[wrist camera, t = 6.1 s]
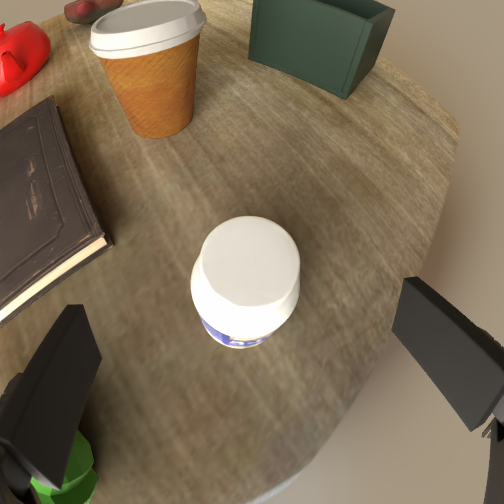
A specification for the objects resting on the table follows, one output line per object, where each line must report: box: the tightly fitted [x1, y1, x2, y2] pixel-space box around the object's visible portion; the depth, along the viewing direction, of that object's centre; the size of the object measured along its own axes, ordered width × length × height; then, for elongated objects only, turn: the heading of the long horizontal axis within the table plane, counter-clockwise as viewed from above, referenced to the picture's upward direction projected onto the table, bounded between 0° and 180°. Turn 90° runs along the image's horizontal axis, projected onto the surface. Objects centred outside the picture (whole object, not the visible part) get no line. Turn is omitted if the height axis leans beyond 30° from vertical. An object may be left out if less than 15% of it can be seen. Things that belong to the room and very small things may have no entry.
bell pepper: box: [30, 429, 98, 504], centre depth 9 cm, size 8×8×10 cm
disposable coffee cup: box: [88, 0, 207, 138], centre depth 21 cm, size 10×10×12 cm
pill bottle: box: [191, 216, 300, 348], centre depth 15 cm, size 5×5×9 cm
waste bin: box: [248, 0, 395, 100], centre depth 28 cm, size 14×14×11 cm
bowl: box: [64, 0, 123, 24], centre depth 36 cm, size 16×13×8 cm
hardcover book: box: [0, 95, 114, 327], centre depth 21 cm, size 16×23×2 cm
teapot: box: [0, 21, 51, 97], centre depth 25 cm, size 25×16×12 cm, turn 43°
